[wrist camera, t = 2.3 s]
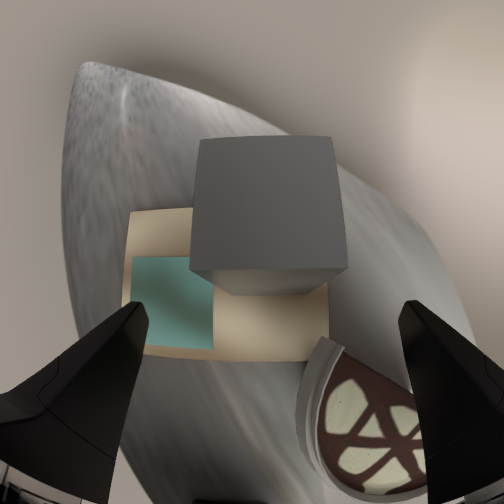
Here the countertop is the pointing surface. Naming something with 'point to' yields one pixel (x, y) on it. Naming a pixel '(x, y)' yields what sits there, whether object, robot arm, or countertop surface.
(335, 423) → the food container
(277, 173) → the tall gray pillar
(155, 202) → the countertop surface
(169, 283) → the stand board
